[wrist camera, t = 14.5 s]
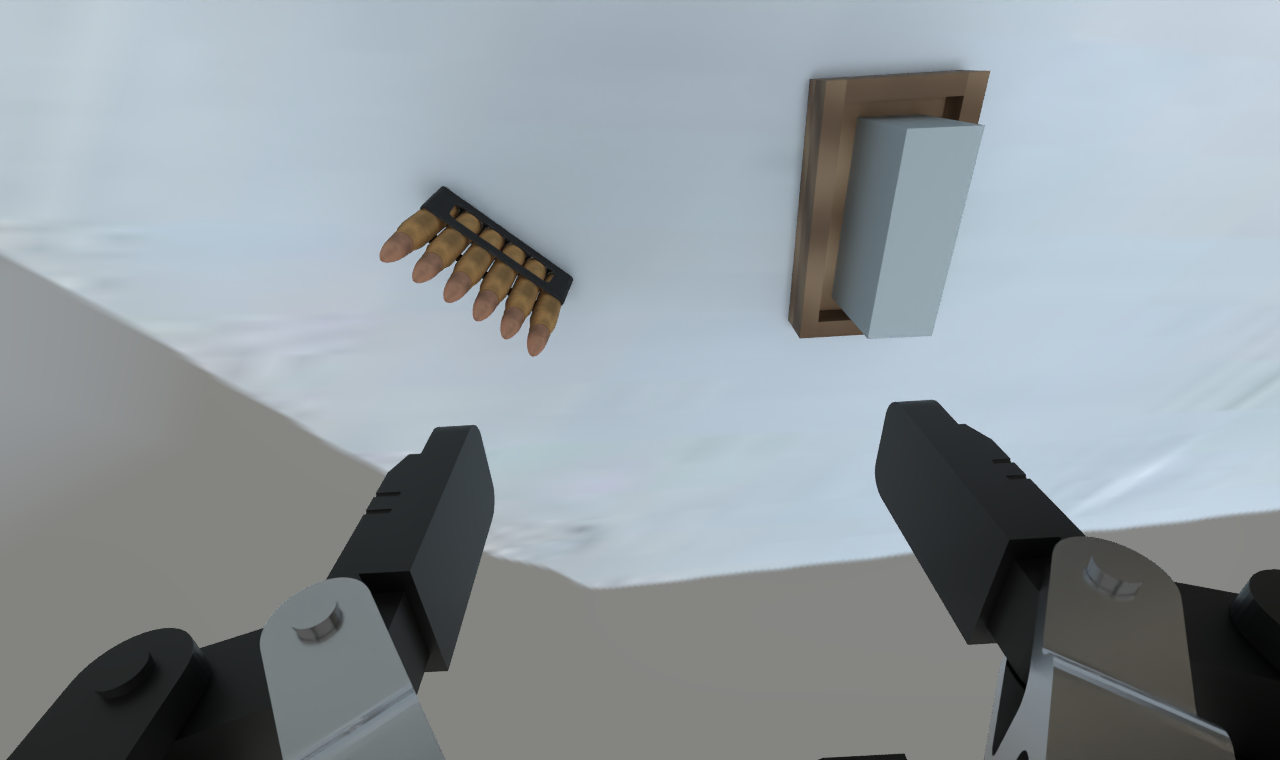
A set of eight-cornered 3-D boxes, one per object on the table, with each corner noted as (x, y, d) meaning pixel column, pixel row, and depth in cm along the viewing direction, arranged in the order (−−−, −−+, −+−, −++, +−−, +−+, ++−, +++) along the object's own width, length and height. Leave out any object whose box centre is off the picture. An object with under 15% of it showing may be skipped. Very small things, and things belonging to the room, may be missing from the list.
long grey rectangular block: (857, 117, 34) (907, 128, 28) (921, 114, 34) (984, 125, 28) (831, 297, 40) (867, 338, 34) (885, 294, 40) (931, 335, 34)
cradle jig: (810, 79, 34) (826, 80, 32) (960, 70, 34) (990, 71, 31) (788, 320, 43) (799, 338, 40) (909, 313, 42) (929, 330, 40)
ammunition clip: (573, 278, 40) (556, 352, 30) (559, 296, 41) (538, 375, 31) (442, 185, 37) (372, 233, 27) (429, 207, 38) (356, 262, 27)
